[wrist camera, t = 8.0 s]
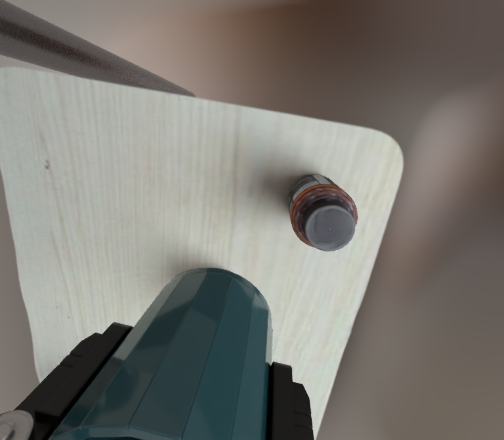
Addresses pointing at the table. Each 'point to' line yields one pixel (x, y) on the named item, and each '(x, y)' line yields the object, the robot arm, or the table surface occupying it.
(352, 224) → the supplement bottle
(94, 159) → the table surface
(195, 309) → the cup
